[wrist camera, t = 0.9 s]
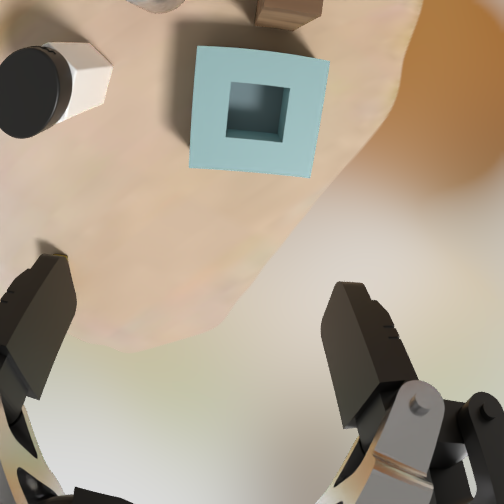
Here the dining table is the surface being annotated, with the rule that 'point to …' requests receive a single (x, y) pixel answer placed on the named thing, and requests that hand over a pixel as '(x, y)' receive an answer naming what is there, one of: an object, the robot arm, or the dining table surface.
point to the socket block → (256, 110)
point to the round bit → (157, 5)
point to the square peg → (287, 13)
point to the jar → (50, 86)
